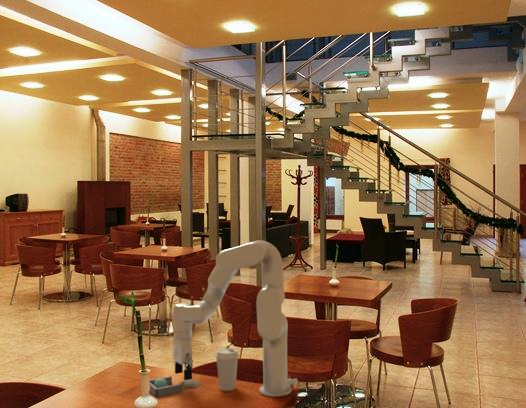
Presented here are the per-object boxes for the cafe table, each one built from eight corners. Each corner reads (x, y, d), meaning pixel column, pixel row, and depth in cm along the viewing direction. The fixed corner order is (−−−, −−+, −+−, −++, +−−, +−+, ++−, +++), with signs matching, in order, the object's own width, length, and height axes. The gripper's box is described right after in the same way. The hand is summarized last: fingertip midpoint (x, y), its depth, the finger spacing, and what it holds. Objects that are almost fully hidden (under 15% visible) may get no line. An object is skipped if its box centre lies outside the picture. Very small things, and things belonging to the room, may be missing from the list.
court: (171, 383, 225) (170, 376, 225) (182, 391, 214) (182, 384, 214) (145, 388, 219) (145, 380, 219) (155, 397, 209) (155, 389, 209)
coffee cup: (238, 392, 213) (238, 354, 213) (214, 392, 213) (214, 354, 213) (239, 384, 223) (239, 347, 223) (216, 384, 223) (216, 348, 223)
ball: (155, 375, 217) (166, 378, 220) (150, 387, 216) (161, 390, 219) (159, 378, 213) (170, 381, 216) (154, 391, 212) (165, 394, 214)
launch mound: (199, 405, 232) (198, 372, 232) (213, 416, 220) (213, 381, 220) (168, 412, 225) (167, 378, 225) (181, 423, 213) (180, 387, 213)
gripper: (166, 331, 227) (167, 372, 227) (182, 339, 212) (182, 383, 212) (183, 329, 231) (183, 369, 230) (200, 337, 216) (200, 380, 216)
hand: (183, 376), depth 221 cm, fingers open, 9 cm apart
